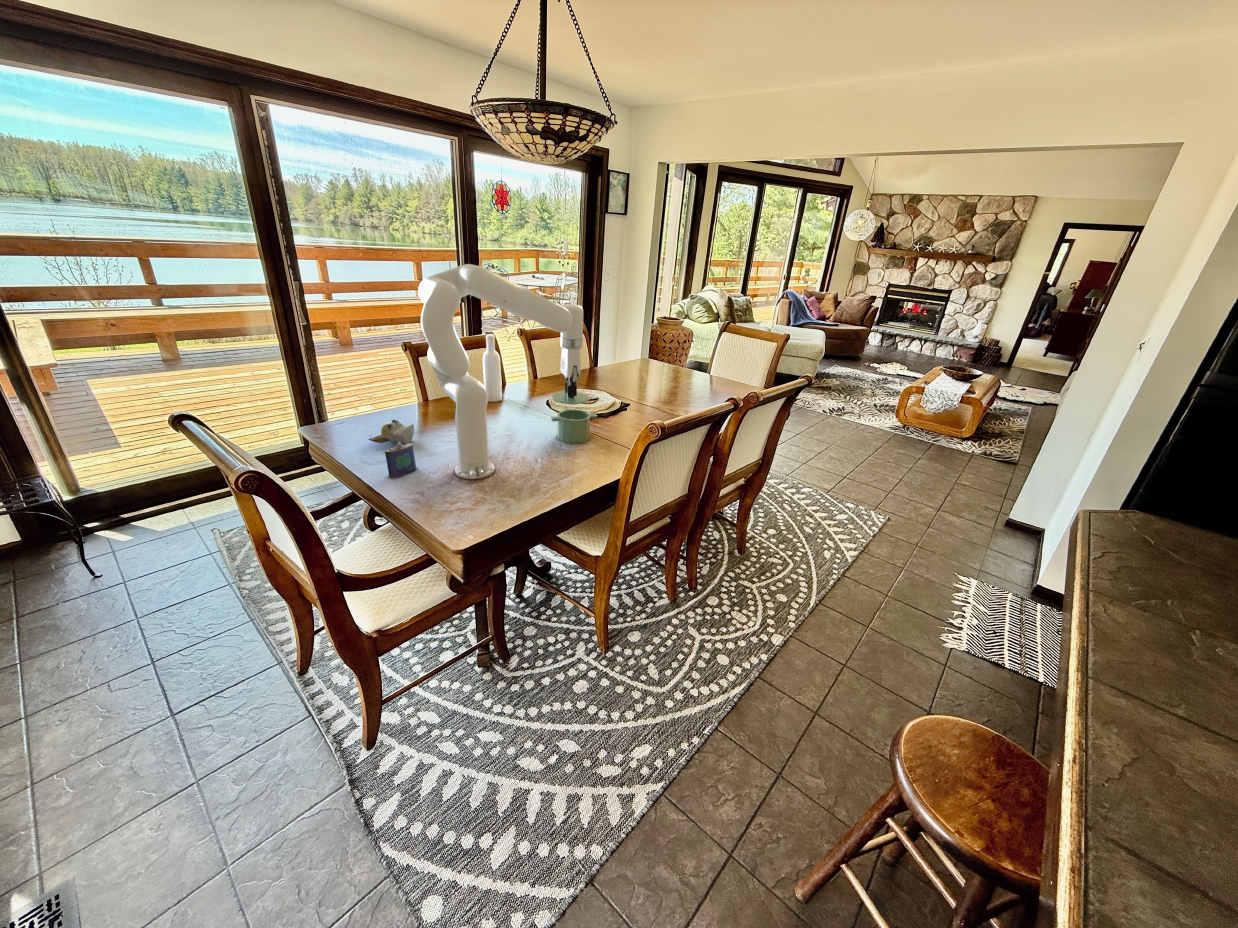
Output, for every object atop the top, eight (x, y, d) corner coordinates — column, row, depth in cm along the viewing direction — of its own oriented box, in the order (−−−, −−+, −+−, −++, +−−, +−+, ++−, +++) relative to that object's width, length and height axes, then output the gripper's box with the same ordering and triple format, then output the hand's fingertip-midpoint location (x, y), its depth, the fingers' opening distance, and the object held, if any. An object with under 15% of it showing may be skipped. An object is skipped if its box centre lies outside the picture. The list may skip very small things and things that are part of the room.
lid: (594, 404, 168) (595, 385, 165) (556, 407, 164) (556, 386, 161) (583, 392, 180) (584, 374, 177) (548, 394, 175) (547, 375, 172)
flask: (413, 466, 159) (409, 437, 154) (418, 469, 158) (414, 439, 153) (387, 476, 152) (382, 445, 148) (392, 479, 151) (387, 448, 146)
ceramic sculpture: (406, 425, 168) (363, 425, 168) (410, 448, 172) (369, 447, 172) (418, 415, 178) (378, 415, 178) (422, 437, 181) (383, 436, 182)
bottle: (505, 399, 228) (503, 335, 215) (493, 403, 222) (490, 337, 209) (493, 395, 231) (490, 332, 218) (481, 399, 225) (477, 334, 212)
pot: (600, 441, 188) (601, 418, 184) (555, 445, 182) (555, 422, 178) (590, 429, 199) (591, 408, 195) (547, 433, 193) (547, 410, 189)
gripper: (555, 338, 169) (555, 388, 177) (566, 348, 155) (566, 402, 163) (575, 337, 171) (574, 387, 179) (589, 347, 157) (587, 401, 165)
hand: (570, 394), depth 171 cm, fingers closed on lid, 2 cm apart
